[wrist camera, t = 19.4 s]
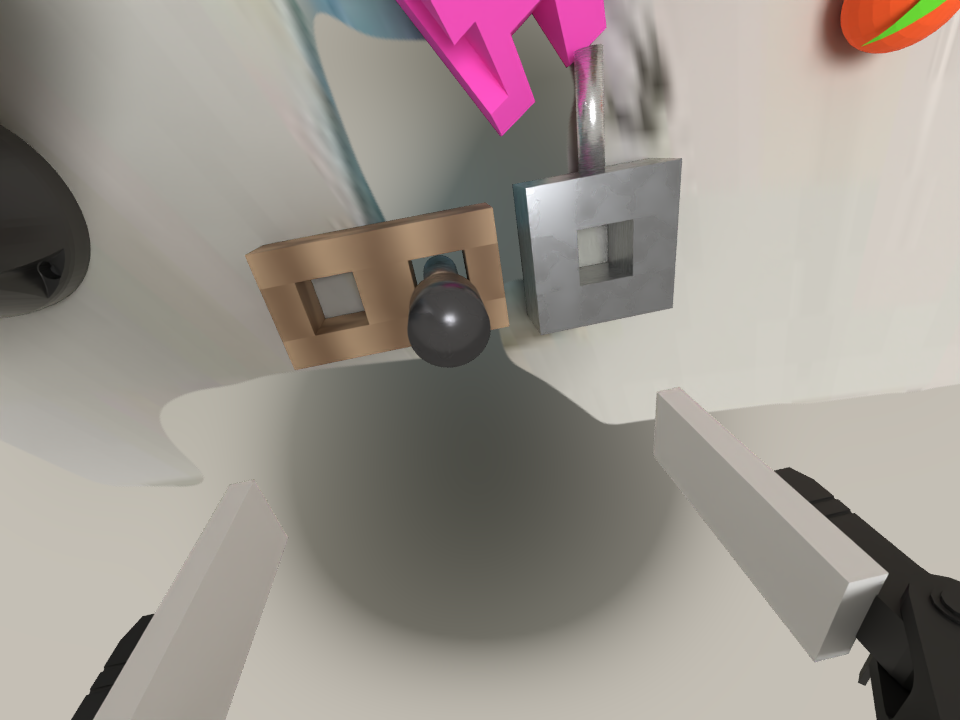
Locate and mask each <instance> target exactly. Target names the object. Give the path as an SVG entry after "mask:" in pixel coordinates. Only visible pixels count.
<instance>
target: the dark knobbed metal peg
mask: <svg viewBox="0 0 960 720" xmlns="http://www.w3.org/2000/svg"><path fill="white" fill-rule="evenodd" d="M490 330H491V326H490V319H489V316H488V314H487V311H486V309H485V306H484V304H483V302H482V299H481V297H480V294H479V292H478V290H477V289H476V287H475V286H474V285H473V284H472V283H471V282H470V281H469V280H468V279H466V278H464V277H463V276H460V275H458V272H457V269H456V266H455V264H454V262H453V261H452V260H451V259H450V258H448V257H446V256H443V255H437V256H434V257H432V258H430V259H429V260H428V261H427V262H426V264H425V266H424V280H423V281H421V282H420V283H419V284H418V285H417V287H416V288H415V289H414V291H413V293H412V295H411V298H410V303H409V315H408V326H407V333H408V339H409V342H410V344H411V346H412V348H413V350H414V351H415V352H416V354H417V355H418V356H419V357H421V358H422V359H423V360H425V361H426V362H428V363H430V364H433V365H435V366H439V367H457V366H461V365H464V364H466V363H469V362H470V361H472V360H474V359H475V358H476V357H477V356H478V355H480V353H481V352H482V351H483V350H484V348H485V347H486V345H487V343H488V340H489V337H490Z"/></svg>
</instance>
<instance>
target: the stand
mask: <svg viewBox="0 0 960 720" xmlns="http://www.w3.org/2000/svg"><path fill="white" fill-rule="evenodd" d="M459 250H462V253H463V258H464V264H465V269H466V274H467V279H468V280H469V281H470V282H471V283H472V284H473V285H474V286H475V287H476V289H477V290H478V292H479V294H480V297H481V299H482V302H483V304H484V306H485V309H486V311H487V314H488V316H489V319H490V326H491V330H493V329H498V328H503V327H508V326H509V320H508V313H507V306H506V299H505V292H504V285H503V278H502V271H501V264H500V257H499V250H498V243H497V235H496V229H495V222H494V214H493V208H492V207H491V206H490V205H488V204H487V203H480V204H474V205H469V206H464V207H459V208H454V209H449V210H443V211H438V212H433V213H428V214H423V215H418V216H412V217H407V218H402V219H397V220H392V221H386V222H381V223H376V224H371V225H365V226H360V227H355V228H350V229H345V230H339V231H334V232H329V233H324V234H319V235H313V236H308V237H303V238H298V239H293V240H287V241H282V242H277V243H272V244H267V245H263V246H261V247H259V248H257V249H255V250H254V251H252V252H250V253H248V254H246V255H245V257H246V259H247V262H248V264H249V266H250V268H251V271H252V273H253V275H254V278H255V280H256V282H257V284H258V287H259V289H260V291H261V294H262V296H263V298H264V300H265V303H266V305H267V307H268V310H269V312H270V314H271V316H272V319H273V321H274V323H275V326H276V328H277V330H278V332H279V335H280V337H281V339H282V342H283V344H284V346H285V348H286V351H287V353H288V355H289V358H290V360H291V362H292V364H293V367H294V369H295V370H298V369H303V368H308V367H313V366H318V365H322V364H327V363H332V362H337V361H342V360H347V359H352V358H357V357H361V356H366V355H371V354H376V353H381V352H386V351H391V350H396V349H400V348H405V347H410V346H411V344H410V342H409V339H408V333H407V326H408V315H409V303H410V298H411V295H412V293H413V291H414V289H415V288H416V287H417V281H416V277H415V273H414V269H413V265H412V261H411V260H413V259H418V258H424V257H429V256H434V255H439V254H444V253H449V252H454V251H459ZM347 272H353V275H354V278H355V281H356V284H357V287H358V290H359V294H360V297H361V300H362V303H363V306H364V309H365V311H361V312H356V313H351V314H347V315H342V316H337V317H332V318H327V319H325V317H324V314H323V311H322V309H321V306H320V303H319V301H318V298H317V295H316V292H315V290H314V287H313V284H312V282H311V280H312V279H317V278H322V277H327V276H332V275H337V274H342V273H347Z"/></svg>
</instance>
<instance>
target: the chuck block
mask: <svg viewBox="0 0 960 720" xmlns="http://www.w3.org/2000/svg"><path fill="white" fill-rule="evenodd" d="M574 73H575V95H576V118H577V140H578V162H579V172H575V173H569V174H565V175H559V176H554V177H549V178H543V179H538V180H533V181H528V182H522V183H517V184H513V185H512V186H513V195H514V203H515V212H516V220H517V229H518V237H519V245H520V255H521V262H522V272H523V280H524V289H525V297H526V306H527V315H528V317H529V318H530V320H531V321H532V323H533V324H534V326H535V327H536V329H537V330H538V332H539V333H540V334H541V335H544V334H549V333H553V332H558V331H563V330H568V329H573V328H578V327H582V326H587V325H592V324H597V323H602V322H607V321H611V320H616V319H621V318H626V317H631V316H636V315H640V314H645V313H650V312H655V311H660V310H665V309H669V308H673V293H674V277H675V261H676V246H677V230H678V214H679V199H680V183H681V167H682V158H648V159H643V160H637V161H632V162H627V163H622V164H616V165H611V166H606V167H605V138H604V79H603V45H602V44H598V45H592V46H587V47H584V48H580V49H578V50H576V51H574ZM606 224H608V262H605V263H601V264H596V265H591V266H586V267H581V268H579V259H578V239H577V230H580V229H585V228H590V227H595V226H600V225H606Z"/></svg>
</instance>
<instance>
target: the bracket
mask: <svg viewBox="0 0 960 720" xmlns="http://www.w3.org/2000/svg"><path fill="white" fill-rule="evenodd" d="M396 1H397V3H398V4H399V5H400V6H401V8H402V9H403V10H404V12H405V13H406V14H407V16H408V17H409V18H410V19H411V21H412V22H413V23H414V25H415V26H416V27H417V29H418V30H419V31H420V32H421V34H422V35H423V36H424V38H425V39H426V41H427V42H428V43H429V45H430V46H431V47H432V48H433V50H434V51H435V52H436V54H437V55H438V56H439V58H440V59H441V60H442V61H443V63H444V64H445V65H446V67H447V68H448V69H449V71H450V72H451V73H452V74H453V76H454V77H455V78H456V80H457V81H458V82H459V84H460V85H461V86H462V87H463V89H464V90H465V91H466V93H467V94H468V95H469V97H470V98H471V99H472V100H473V101H474V103H475V104H476V106H477V107H478V108H479V109H480V111H481V112H482V113H483V115H484V116H485V117H486V119H487V120H488V121H489V122H490V124H491V125H492V126H493V128H494V129H495V130H496V132H497V133H498V134H499V135H500V136H503V134H504V133H505V132H506V131H507V130H508V129H509V128H510V127H511V126H512V125H513V124H514V123H515V122H516V121H517V120H518V119H519V118H520V117H521V116H522V115H523V113H525V112H526V111H527V110H528V108H529V107H530V106H531V105H532V104H533V103H534V102H535V100H534V97H533V94H532V91H531V89H530V86H529V83H528V81H527V78H526V75H525V72H524V69H523V67H522V64H521V61H520V59H519V56H518V53H517V50H516V47H515V45H514V42H513V39H512V35H513V34H514V33H515V32H516V30H518V28H519V27H520V26H521V25H522V24H523V23H524V22H525V20H527V18H528V17H529V16H530V15H531V14H532V15H533V16H534V18H535V20H536V21H537V23H538V24H539V26H540V27H541V29H542V31H543V32H544V34H545V35H546V37H547V38H548V40H549V41H550V43H551V44H552V46H553V48H554V49H555V51H556V53H557V54H558V56H559V57H560V59H561V60H562V62H563V63H564V65H565V67H566V68H567V67H568V66H570V65H571V64H572V63H573V62H574V51H576V50H578V49H580V48H584V47H587V46H589V45H590V44H591V43H592V42H593V41H594V40H595V39H596V38H597V37H598V36H599V35H600V34H601V33H602V32H603V31H604V30H605V28H606V20H605V11H604V2H603V0H396Z"/></svg>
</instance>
